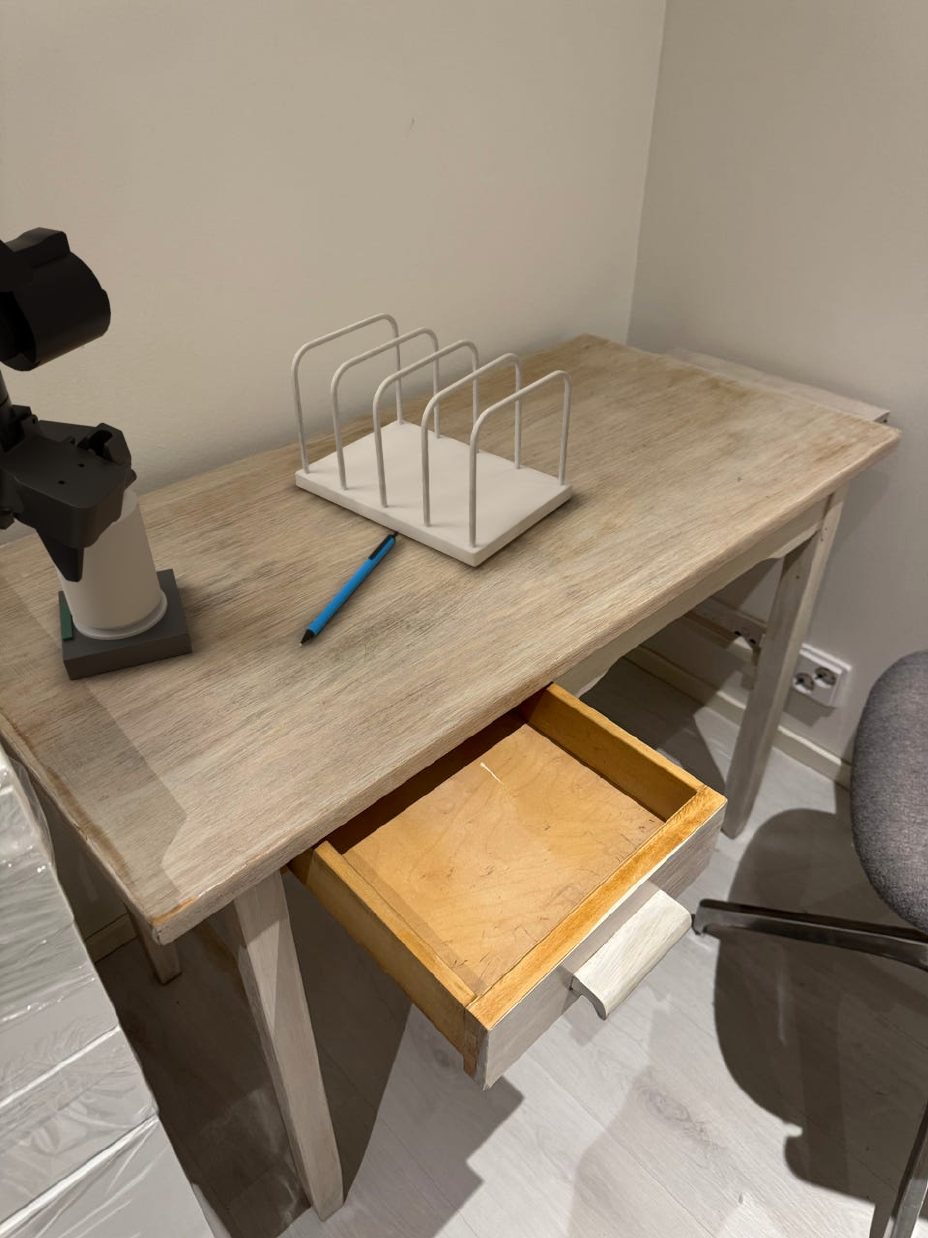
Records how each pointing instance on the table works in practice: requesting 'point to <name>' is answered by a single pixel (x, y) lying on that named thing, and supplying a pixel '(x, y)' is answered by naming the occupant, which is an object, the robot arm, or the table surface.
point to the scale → (125, 636)
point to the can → (116, 575)
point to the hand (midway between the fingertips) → (35, 620)
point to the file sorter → (434, 461)
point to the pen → (349, 588)
